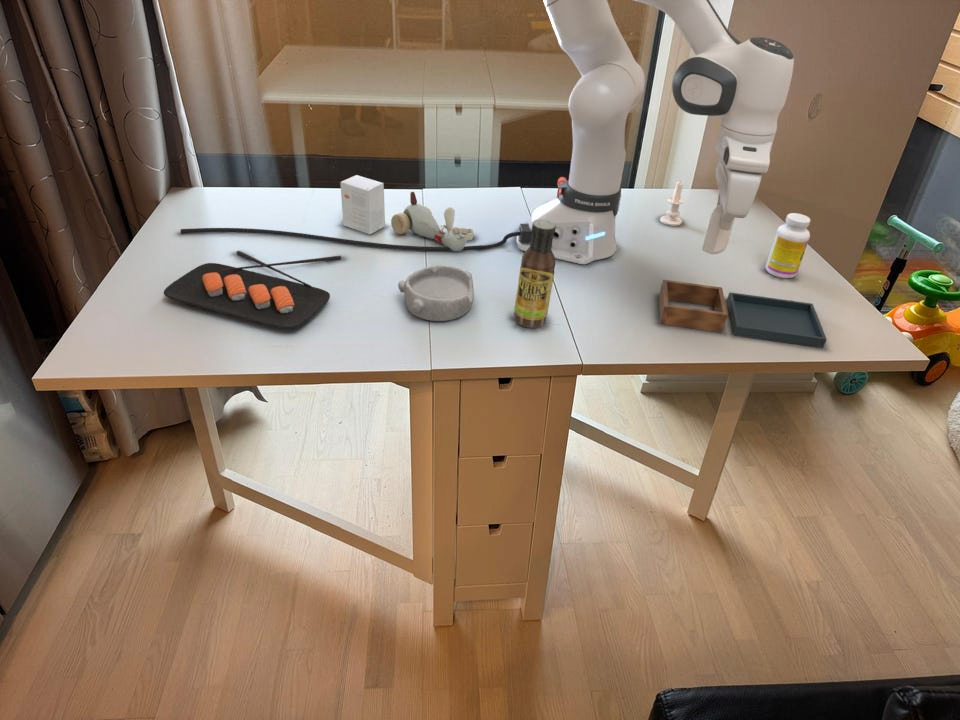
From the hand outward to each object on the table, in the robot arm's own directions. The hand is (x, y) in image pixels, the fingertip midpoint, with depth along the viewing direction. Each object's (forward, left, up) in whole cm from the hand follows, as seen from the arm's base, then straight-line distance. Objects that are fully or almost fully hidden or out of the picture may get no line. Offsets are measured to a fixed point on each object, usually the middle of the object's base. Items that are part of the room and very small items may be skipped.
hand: (722, 220), depth 129 cm
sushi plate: (-82, -11, -20) cm, 85 cm away
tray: (+15, +1, -20) cm, 25 cm away
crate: (-1, 0, -20) cm, 20 cm away
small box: (-73, +19, -20) cm, 78 cm away
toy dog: (-57, +18, -20) cm, 63 cm away
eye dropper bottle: (0, 0, -6) cm, 6 cm away
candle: (-3, +44, -20) cm, 48 cm away
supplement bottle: (+20, +24, -20) cm, 37 cm away
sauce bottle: (-31, -11, -20) cm, 39 cm away
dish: (-49, -10, -20) cm, 54 cm away
